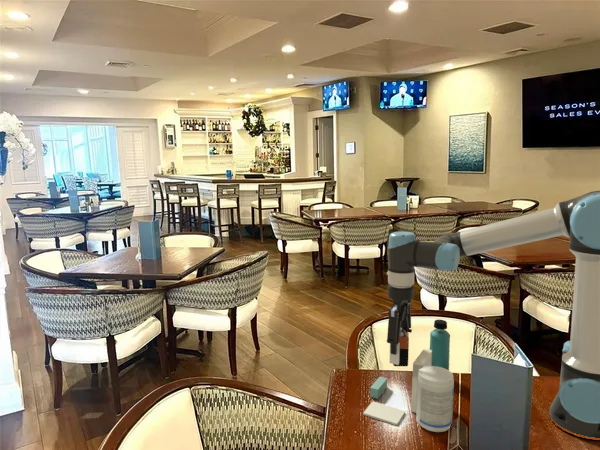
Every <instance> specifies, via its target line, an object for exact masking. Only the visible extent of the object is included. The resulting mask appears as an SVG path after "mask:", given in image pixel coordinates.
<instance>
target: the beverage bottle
mask: <svg viewBox="0 0 600 450" xmlns="http://www.w3.org/2000/svg"><path fill="white" fill-rule="evenodd" d="M433 328H434V329H433V330H431V331H430V333H429V336H430V337H429V350H432V365H431V366H437V367H442V368H445V369H447V370H449V371H450V359H451V358H450V356H451V354H450V349H451V348H450V347H451V340H450V339H451V334H450V332H448V331H447V329H448V322H447V320H444V319H435V320H434V322H433Z"/></svg>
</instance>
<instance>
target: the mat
mask: <svg viewBox="0 0 600 450" xmlns="http://www.w3.org/2000/svg"><path fill="white" fill-rule="evenodd" d="M362 415H363V416H366V417H368V418H371V419H375V420H379V421H381V422H384V423H387V424H389V425H393V426H397V427H398V425H399V423H400V422H401V421H402V419H403V417H404V416H405V415H406V411H405V410H402V409H399V408H397V407H396V408H395V407H392V406H390V405H386V404H383V403H380V402H379V403H378V402H376V401H374V400H372V401H371V403H370V404H369V405H368V406H367V407H366V408H365V410H364V411H363V413H362Z"/></svg>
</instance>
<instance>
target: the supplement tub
mask: <svg viewBox="0 0 600 450" xmlns="http://www.w3.org/2000/svg"><path fill="white" fill-rule="evenodd" d="M454 388H455V379H454V374H453V372H451V371H450V369H449V370H447V369H445V368H442V367H437V366H426V367H422V368H421V369H419V371H418V378H417V409H416V413H415V415H416V418H415V419H416V422H417V424H418V425H419V426H420V427H422V428H423V429H424V430H427V431H429V432H432V433H433V432H435V433H443V432H446V431H449V430H450V429H449V427H450V425H451V424H452V425H453V413H454V411H453V410H454Z"/></svg>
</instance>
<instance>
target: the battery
mask: <svg viewBox="0 0 600 450" xmlns="http://www.w3.org/2000/svg"><path fill="white" fill-rule="evenodd" d="M399 343H400V355H399V365H396V364H392V365H393V367H408V366H409V352H410V351H409V345H410V338H409V337H408V335H407V333H406V331H405V330H404V329H402V328H400V335H399Z"/></svg>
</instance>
